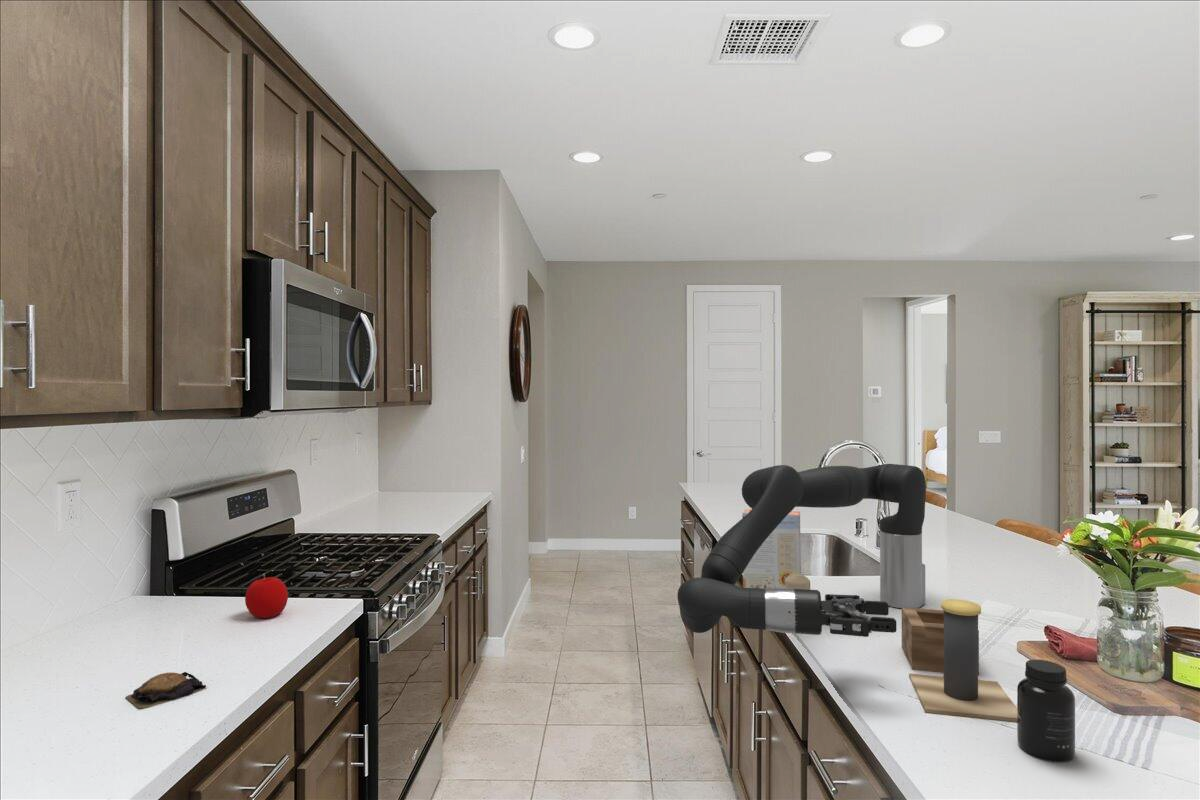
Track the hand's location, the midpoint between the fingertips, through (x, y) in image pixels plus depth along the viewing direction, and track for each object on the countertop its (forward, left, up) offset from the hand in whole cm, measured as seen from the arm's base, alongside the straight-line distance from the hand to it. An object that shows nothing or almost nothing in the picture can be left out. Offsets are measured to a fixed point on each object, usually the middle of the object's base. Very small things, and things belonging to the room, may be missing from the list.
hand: (892, 616), depth 115 cm
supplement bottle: (-6, +23, -13) cm, 27 cm away
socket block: (-18, -7, -13) cm, 23 cm away
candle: (-8, -37, -13) cm, 40 cm away
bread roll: (+116, -43, -13) cm, 124 cm away
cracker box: (-14, -55, -13) cm, 58 cm away
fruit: (+104, -82, -13) cm, 133 cm away
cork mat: (-9, +6, -13) cm, 16 cm away
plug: (-8, +6, -12) cm, 16 cm away
